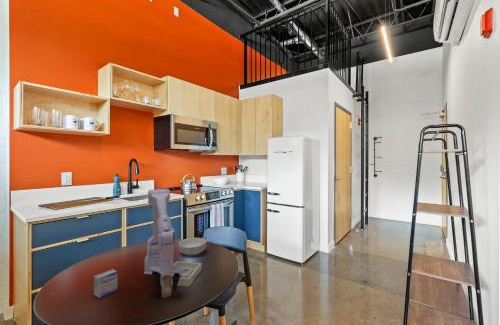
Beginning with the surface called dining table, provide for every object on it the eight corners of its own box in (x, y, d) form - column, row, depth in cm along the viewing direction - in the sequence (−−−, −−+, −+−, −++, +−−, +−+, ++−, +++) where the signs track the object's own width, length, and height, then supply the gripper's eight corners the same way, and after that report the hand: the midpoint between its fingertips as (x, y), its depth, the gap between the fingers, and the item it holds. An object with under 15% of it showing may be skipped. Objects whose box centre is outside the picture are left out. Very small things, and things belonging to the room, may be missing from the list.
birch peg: (159, 297, 104) (159, 278, 104) (164, 292, 108) (164, 274, 108) (168, 298, 103) (168, 279, 103) (172, 292, 107) (173, 275, 107)
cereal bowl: (186, 247, 161) (186, 236, 161) (210, 249, 158) (210, 238, 158) (173, 257, 145) (173, 245, 145) (199, 260, 141) (199, 248, 141)
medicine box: (99, 298, 102) (99, 278, 102) (93, 295, 105) (93, 275, 105) (117, 290, 109) (117, 271, 109) (112, 287, 111) (112, 268, 111)
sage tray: (160, 284, 114) (160, 276, 114) (176, 267, 131) (176, 261, 131) (189, 286, 112) (189, 279, 112) (201, 269, 129) (201, 263, 129)
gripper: (145, 261, 102) (145, 293, 103) (178, 263, 100) (178, 296, 100) (154, 254, 109) (154, 284, 110) (185, 256, 107) (185, 287, 107)
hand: (166, 289), depth 105 cm, fingers open, 7 cm apart
